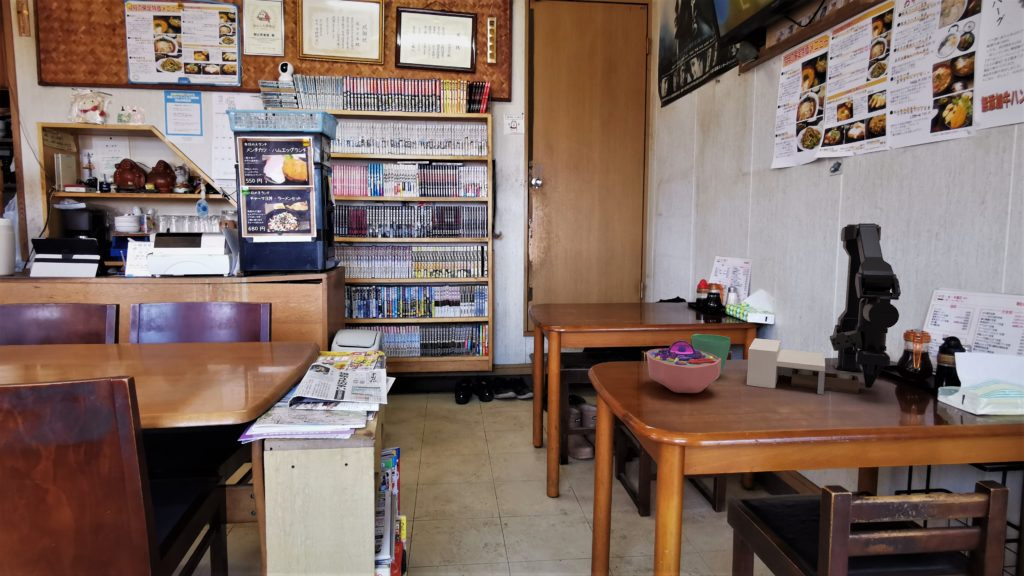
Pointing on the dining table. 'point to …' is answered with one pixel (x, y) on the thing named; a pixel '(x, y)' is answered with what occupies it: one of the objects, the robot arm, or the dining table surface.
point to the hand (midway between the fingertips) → (867, 387)
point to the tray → (826, 380)
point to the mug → (712, 345)
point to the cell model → (683, 367)
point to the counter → (780, 363)
